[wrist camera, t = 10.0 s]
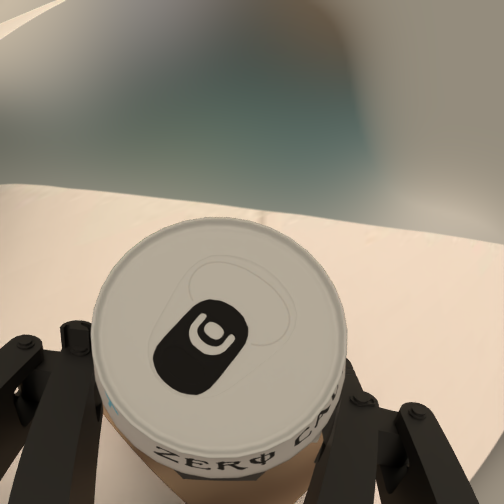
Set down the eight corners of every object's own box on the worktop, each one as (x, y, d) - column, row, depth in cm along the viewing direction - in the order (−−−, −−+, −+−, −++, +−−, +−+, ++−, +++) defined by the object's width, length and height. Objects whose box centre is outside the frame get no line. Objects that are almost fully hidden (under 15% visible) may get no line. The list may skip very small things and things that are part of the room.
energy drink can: (287, 394, 19) (417, 294, 6) (230, 468, 16) (255, 551, 3) (211, 339, 20) (201, 159, 8) (152, 408, 18) (13, 333, 5)
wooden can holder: (78, 374, 22) (55, 361, 18) (205, 271, 28) (204, 243, 24) (241, 543, 16) (245, 562, 12) (365, 415, 22) (390, 410, 18)
